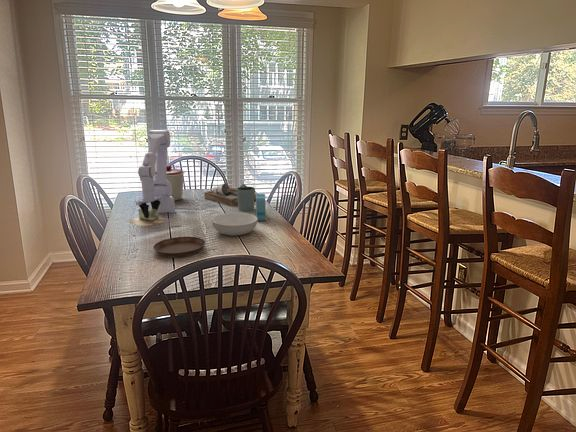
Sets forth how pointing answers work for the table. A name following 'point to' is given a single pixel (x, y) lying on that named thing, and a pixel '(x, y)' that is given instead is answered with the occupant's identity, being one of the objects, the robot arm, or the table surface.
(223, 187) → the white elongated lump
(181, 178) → the canister
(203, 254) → the table surface
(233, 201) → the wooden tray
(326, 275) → the table surface
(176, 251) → the plant saucer
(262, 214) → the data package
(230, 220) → the serving bowl
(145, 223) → the board
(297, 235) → the table surface
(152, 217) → the block
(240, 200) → the green lidded jar
